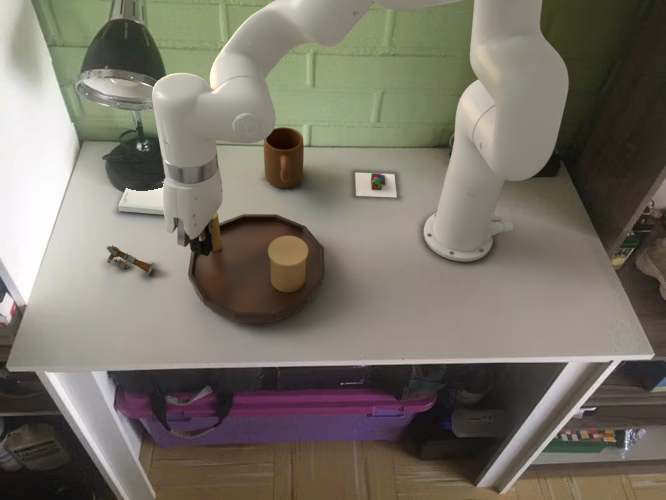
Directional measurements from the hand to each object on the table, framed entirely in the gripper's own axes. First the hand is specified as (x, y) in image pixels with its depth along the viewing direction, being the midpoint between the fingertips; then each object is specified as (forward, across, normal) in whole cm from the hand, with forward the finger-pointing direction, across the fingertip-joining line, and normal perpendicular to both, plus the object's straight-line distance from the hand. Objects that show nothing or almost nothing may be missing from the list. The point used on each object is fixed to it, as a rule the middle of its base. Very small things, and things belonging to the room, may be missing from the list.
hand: (201, 250), depth 97 cm
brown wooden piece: (+6, +4, -12) cm, 14 cm away
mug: (+6, -26, +4) cm, 27 cm away
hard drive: (+6, -13, -16) cm, 22 cm away
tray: (+4, -3, +9) cm, 10 cm away
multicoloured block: (+5, -33, +20) cm, 39 cm away
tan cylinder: (+3, -2, +14) cm, 15 cm away
